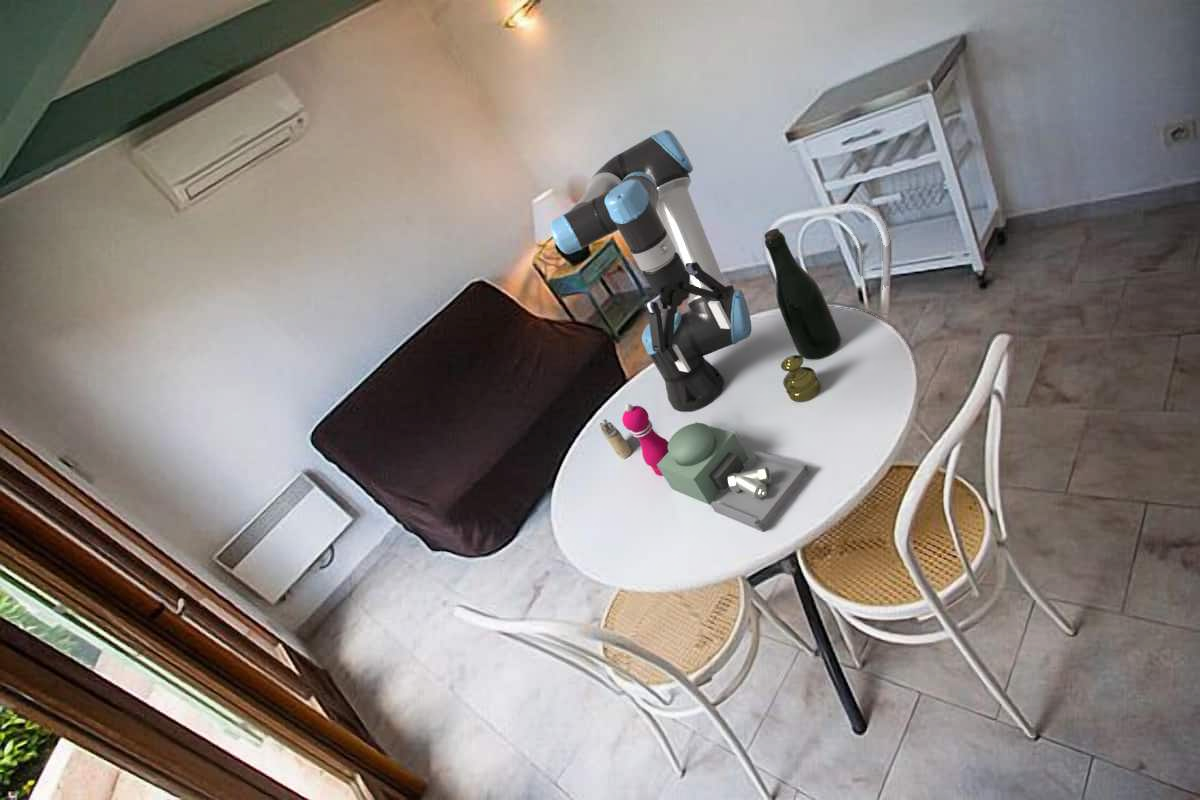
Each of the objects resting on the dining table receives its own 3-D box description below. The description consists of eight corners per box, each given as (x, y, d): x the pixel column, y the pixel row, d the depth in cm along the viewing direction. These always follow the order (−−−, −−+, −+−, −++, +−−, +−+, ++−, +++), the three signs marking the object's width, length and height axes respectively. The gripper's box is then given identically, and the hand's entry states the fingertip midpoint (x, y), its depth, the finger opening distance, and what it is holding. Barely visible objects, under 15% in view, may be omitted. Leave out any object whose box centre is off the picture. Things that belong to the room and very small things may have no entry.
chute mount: (714, 511, 133) (710, 504, 132) (760, 457, 138) (756, 450, 137) (762, 532, 123) (758, 524, 122) (810, 472, 128) (806, 465, 127)
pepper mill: (682, 452, 154) (644, 390, 144) (677, 474, 148) (637, 412, 139) (656, 458, 157) (616, 398, 148) (650, 480, 152) (609, 419, 142)
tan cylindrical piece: (613, 449, 170) (594, 422, 165) (624, 440, 170) (606, 413, 165) (623, 460, 163) (604, 433, 159) (635, 451, 164) (616, 423, 159)
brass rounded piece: (828, 384, 146) (813, 350, 141) (808, 405, 143) (792, 372, 139) (802, 378, 152) (787, 346, 147) (783, 399, 150) (767, 367, 145)
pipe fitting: (772, 500, 127) (771, 474, 132) (765, 488, 125) (764, 462, 130) (734, 508, 131) (734, 482, 135) (726, 496, 128) (727, 471, 133)
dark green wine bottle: (849, 333, 156) (802, 214, 140) (831, 361, 151) (781, 242, 135) (810, 334, 164) (762, 222, 148) (791, 361, 159) (740, 248, 143)
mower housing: (672, 489, 145) (650, 455, 140) (710, 446, 150) (690, 412, 145) (717, 508, 134) (695, 472, 128) (757, 461, 138) (737, 424, 133)
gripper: (627, 303, 113) (679, 391, 124) (714, 221, 122) (756, 311, 132) (603, 301, 120) (654, 386, 130) (687, 224, 128) (729, 309, 138)
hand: (706, 348), depth 131 cm, fingers open, 13 cm apart
